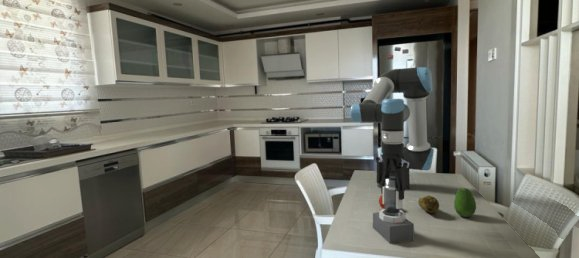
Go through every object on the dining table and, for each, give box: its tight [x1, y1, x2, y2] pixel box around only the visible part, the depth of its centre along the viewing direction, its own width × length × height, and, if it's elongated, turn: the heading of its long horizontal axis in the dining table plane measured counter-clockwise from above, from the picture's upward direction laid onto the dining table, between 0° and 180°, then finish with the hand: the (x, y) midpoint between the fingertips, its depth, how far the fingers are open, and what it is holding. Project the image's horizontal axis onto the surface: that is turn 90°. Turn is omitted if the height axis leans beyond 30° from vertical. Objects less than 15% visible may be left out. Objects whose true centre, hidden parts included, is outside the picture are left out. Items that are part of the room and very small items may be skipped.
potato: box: [418, 195, 440, 213], centre depth 135 cm, size 8×13×8 cm, turn 155°
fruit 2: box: [453, 187, 477, 218], centre depth 128 cm, size 8×8×12 cm
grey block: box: [372, 208, 415, 244], centre depth 115 cm, size 13×9×8 cm
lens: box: [385, 176, 401, 213], centre depth 114 cm, size 5×5×12 cm
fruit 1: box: [378, 194, 385, 209], centre depth 140 cm, size 7×7×8 cm
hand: (392, 205), depth 114 cm, fingers closed on lens, 5 cm apart
